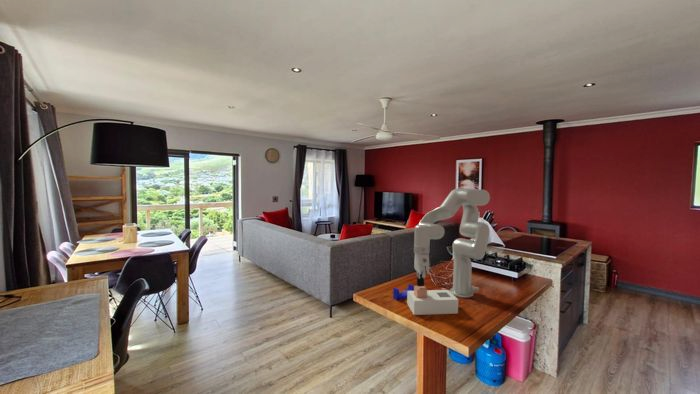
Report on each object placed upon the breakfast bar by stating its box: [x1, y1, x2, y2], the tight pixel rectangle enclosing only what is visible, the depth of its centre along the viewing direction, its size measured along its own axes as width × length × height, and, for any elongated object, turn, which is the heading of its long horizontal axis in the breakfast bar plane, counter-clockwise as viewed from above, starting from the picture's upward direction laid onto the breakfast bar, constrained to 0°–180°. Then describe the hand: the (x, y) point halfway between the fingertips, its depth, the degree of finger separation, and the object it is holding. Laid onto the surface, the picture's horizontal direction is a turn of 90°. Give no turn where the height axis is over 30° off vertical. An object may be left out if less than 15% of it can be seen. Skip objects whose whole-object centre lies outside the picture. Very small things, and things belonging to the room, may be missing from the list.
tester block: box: [406, 289, 459, 316], centre depth 145 cm, size 22×12×7 cm, turn 95°
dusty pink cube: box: [413, 285, 428, 298], centre depth 144 cm, size 5×5×6 cm
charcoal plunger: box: [437, 293, 450, 297], centre depth 145 cm, size 5×5×6 cm
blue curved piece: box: [392, 283, 415, 301], centre depth 159 cm, size 12×4×6 cm, turn 118°
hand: (420, 285), depth 144 cm, fingers closed
